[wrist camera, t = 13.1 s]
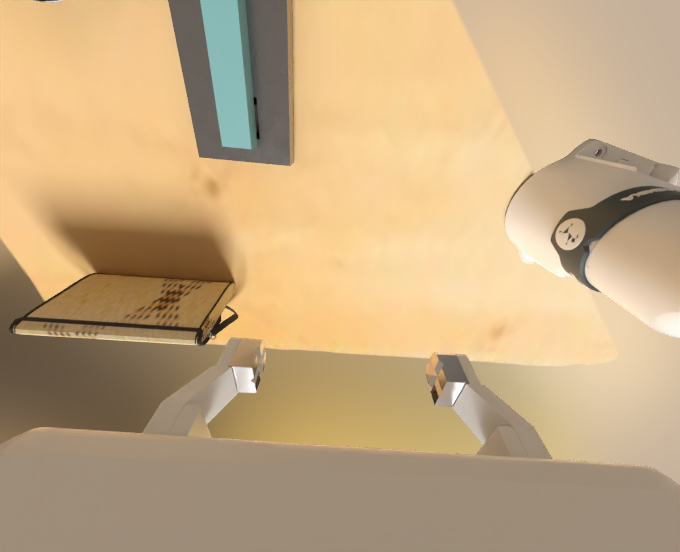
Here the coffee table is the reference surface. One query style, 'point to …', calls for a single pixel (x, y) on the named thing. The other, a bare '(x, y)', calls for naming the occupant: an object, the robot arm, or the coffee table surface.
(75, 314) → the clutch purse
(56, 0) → the lucky cat figurine
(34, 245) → the coffee table surface
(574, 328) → the coffee table surface
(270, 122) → the hole plate
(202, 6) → the peg strip
